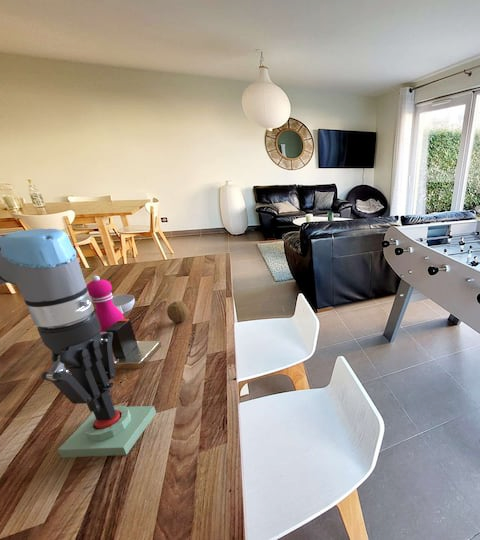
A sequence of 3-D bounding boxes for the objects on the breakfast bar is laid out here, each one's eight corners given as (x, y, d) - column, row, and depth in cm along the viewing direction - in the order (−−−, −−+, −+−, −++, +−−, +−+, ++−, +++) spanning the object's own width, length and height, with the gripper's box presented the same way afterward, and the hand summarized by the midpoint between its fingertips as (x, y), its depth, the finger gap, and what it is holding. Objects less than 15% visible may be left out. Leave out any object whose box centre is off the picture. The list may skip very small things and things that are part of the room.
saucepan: (133, 299, 114) (131, 291, 112) (142, 317, 102) (140, 308, 101) (98, 308, 107) (95, 299, 105) (103, 328, 95) (100, 319, 94)
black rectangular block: (125, 357, 80) (115, 329, 76) (114, 357, 79) (104, 329, 76) (137, 345, 85) (129, 318, 81) (128, 345, 84) (119, 318, 81)
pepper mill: (104, 327, 96) (85, 272, 88) (130, 324, 98) (114, 270, 91) (94, 339, 89) (73, 281, 82) (122, 335, 92) (104, 279, 84)
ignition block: (61, 457, 56) (54, 443, 54) (100, 414, 65) (95, 401, 63) (126, 455, 57) (121, 441, 55) (156, 412, 66) (152, 399, 64)
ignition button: (91, 433, 58) (88, 426, 57) (106, 416, 61) (103, 409, 61) (112, 433, 58) (109, 425, 57) (126, 416, 62) (123, 409, 61)
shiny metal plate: (90, 369, 78) (88, 363, 77) (117, 346, 87) (115, 340, 86) (141, 368, 79) (139, 362, 78) (161, 346, 88) (160, 340, 87)
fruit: (179, 328, 97) (174, 307, 94) (165, 324, 99) (160, 304, 96) (194, 319, 103) (190, 299, 100) (181, 315, 104) (176, 296, 101)
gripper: (56, 340, 44) (101, 445, 53) (116, 300, 56) (145, 392, 65) (3, 340, 44) (58, 447, 53) (76, 300, 56) (110, 392, 65)
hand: (106, 416), depth 59 cm, fingers closed
